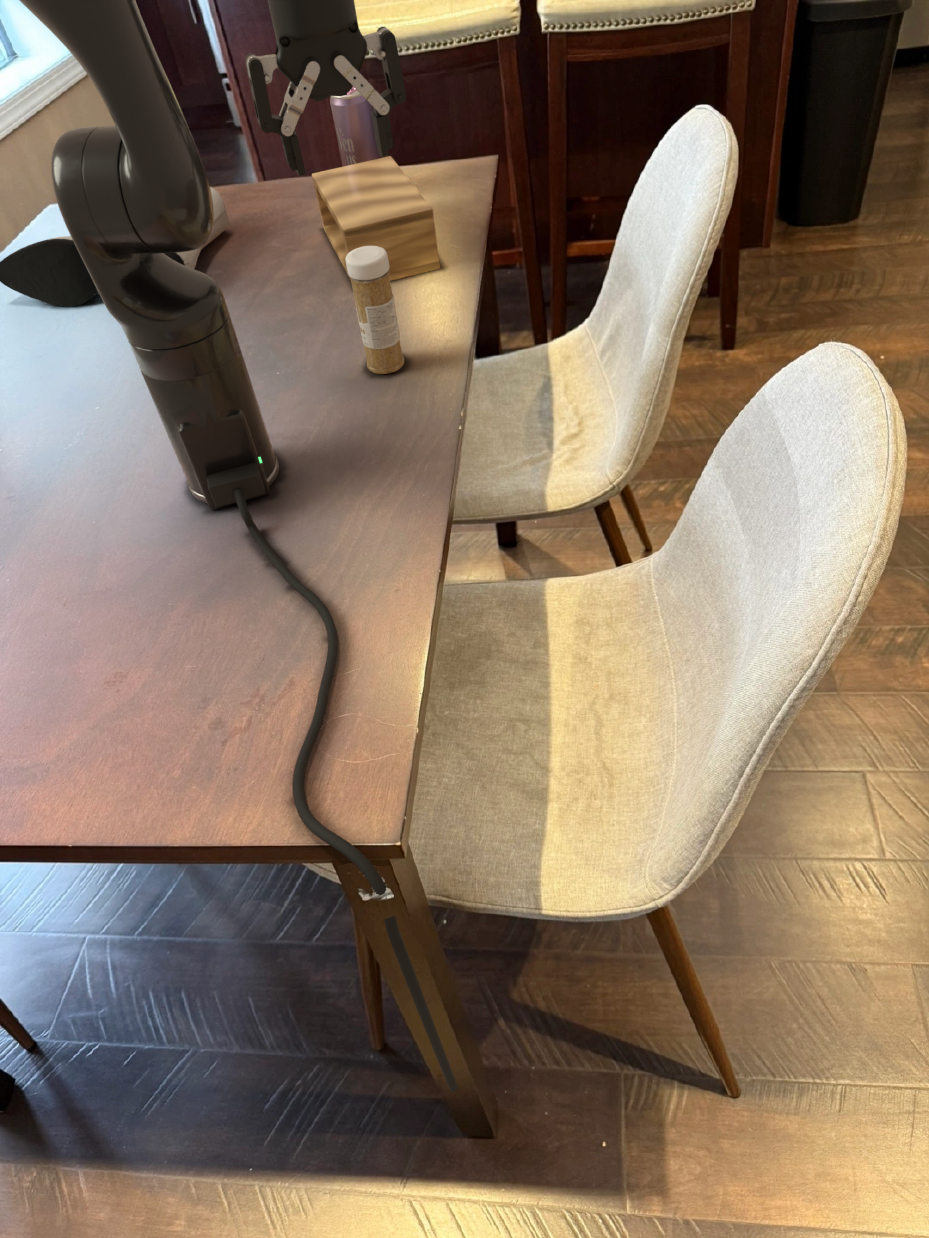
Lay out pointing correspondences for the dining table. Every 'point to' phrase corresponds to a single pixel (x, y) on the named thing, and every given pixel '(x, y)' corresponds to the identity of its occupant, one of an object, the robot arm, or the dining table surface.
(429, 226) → the box
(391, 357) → the sprinkles bottle
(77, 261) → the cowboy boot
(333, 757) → the dining table surface
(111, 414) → the dining table surface
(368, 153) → the beverage can
